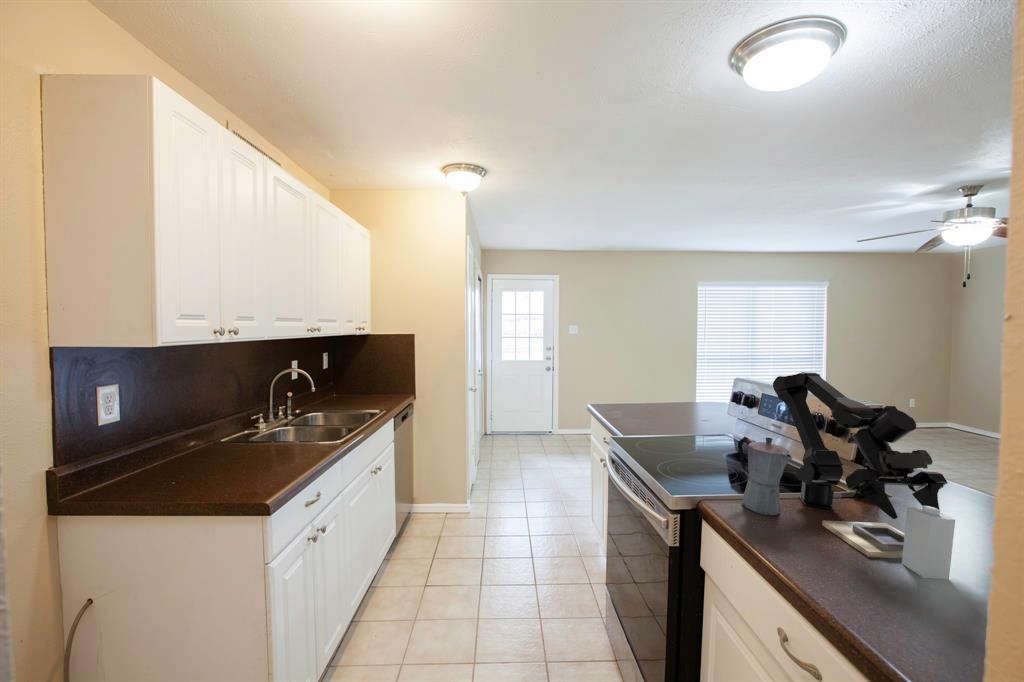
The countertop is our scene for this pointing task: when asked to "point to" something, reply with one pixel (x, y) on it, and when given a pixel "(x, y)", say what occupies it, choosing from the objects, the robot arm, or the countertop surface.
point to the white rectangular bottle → (928, 542)
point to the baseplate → (870, 537)
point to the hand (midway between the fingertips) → (917, 519)
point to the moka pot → (763, 475)
